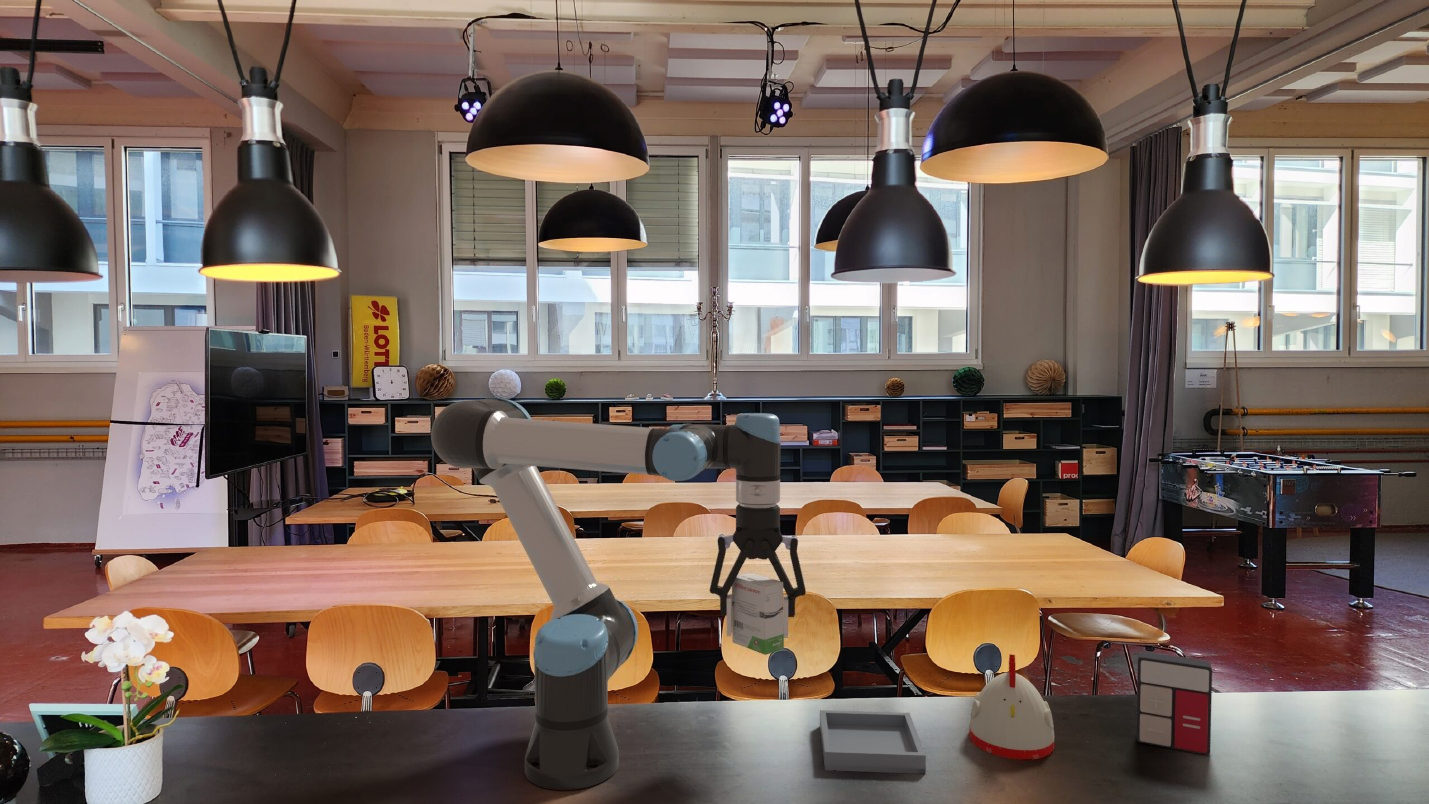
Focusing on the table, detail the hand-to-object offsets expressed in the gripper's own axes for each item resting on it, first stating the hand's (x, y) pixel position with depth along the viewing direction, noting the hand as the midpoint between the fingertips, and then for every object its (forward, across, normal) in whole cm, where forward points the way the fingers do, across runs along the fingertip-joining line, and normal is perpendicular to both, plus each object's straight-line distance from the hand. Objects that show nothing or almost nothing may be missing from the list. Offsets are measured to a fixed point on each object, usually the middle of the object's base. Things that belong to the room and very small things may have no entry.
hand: (757, 634), depth 139 cm
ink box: (+2, 0, 0) cm, 2 cm away
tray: (+19, +19, 0) cm, 27 cm away
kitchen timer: (+19, +44, +5) cm, 49 cm away
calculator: (+19, +71, +5) cm, 74 cm away
